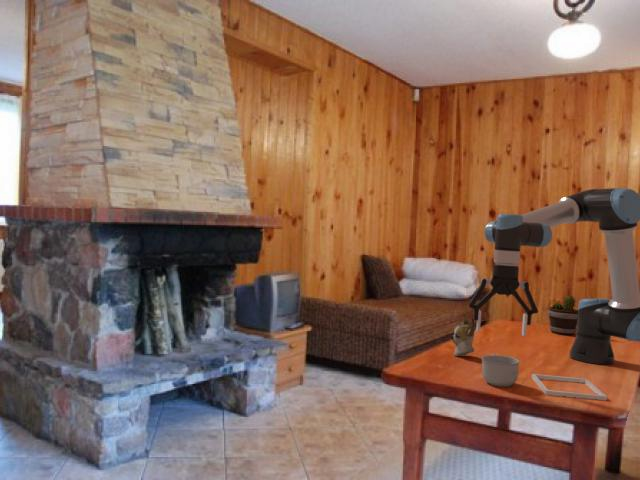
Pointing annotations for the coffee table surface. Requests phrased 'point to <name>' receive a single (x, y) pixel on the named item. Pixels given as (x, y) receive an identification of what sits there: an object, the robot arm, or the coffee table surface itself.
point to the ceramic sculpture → (464, 337)
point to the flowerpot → (563, 317)
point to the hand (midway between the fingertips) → (500, 333)
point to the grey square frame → (568, 394)
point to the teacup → (500, 370)
